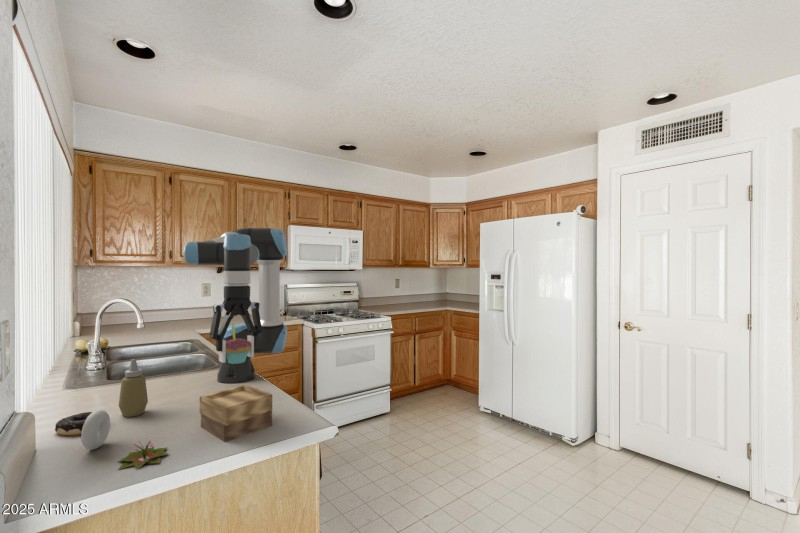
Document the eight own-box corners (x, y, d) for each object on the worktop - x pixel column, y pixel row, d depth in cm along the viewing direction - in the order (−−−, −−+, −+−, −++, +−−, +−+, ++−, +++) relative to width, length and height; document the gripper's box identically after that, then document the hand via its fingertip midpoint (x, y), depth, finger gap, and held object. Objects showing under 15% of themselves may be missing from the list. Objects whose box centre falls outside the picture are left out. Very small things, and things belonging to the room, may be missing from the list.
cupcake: (240, 366, 116) (241, 325, 116) (215, 364, 118) (215, 324, 118) (257, 359, 125) (257, 321, 125) (232, 357, 126) (233, 320, 126)
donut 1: (92, 436, 115) (92, 422, 115) (45, 439, 112) (45, 425, 112) (112, 420, 125) (112, 408, 125) (68, 423, 123) (68, 410, 123)
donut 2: (93, 456, 102) (93, 417, 102) (77, 457, 102) (78, 418, 101) (112, 439, 112) (112, 403, 112) (98, 440, 111) (98, 404, 111)
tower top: (244, 399, 132) (244, 384, 132) (272, 410, 123) (272, 394, 123) (199, 413, 120) (199, 396, 120) (226, 425, 111) (226, 407, 111)
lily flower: (165, 468, 98) (165, 449, 98) (107, 476, 94) (107, 457, 94) (175, 446, 109) (175, 429, 109) (124, 453, 105) (124, 435, 105)
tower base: (247, 414, 132) (247, 399, 132) (271, 426, 123) (272, 410, 123) (200, 428, 121) (200, 412, 121) (224, 443, 111) (224, 425, 111)
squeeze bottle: (115, 414, 130) (115, 359, 130) (144, 407, 136) (144, 355, 136) (121, 420, 125) (122, 363, 125) (151, 413, 131) (151, 359, 131)
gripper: (262, 283, 132) (261, 351, 132) (196, 285, 116) (195, 363, 116) (274, 284, 127) (274, 355, 127) (207, 286, 111) (206, 368, 111)
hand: (236, 359), depth 121 cm, fingers closed on cupcake, 8 cm apart
